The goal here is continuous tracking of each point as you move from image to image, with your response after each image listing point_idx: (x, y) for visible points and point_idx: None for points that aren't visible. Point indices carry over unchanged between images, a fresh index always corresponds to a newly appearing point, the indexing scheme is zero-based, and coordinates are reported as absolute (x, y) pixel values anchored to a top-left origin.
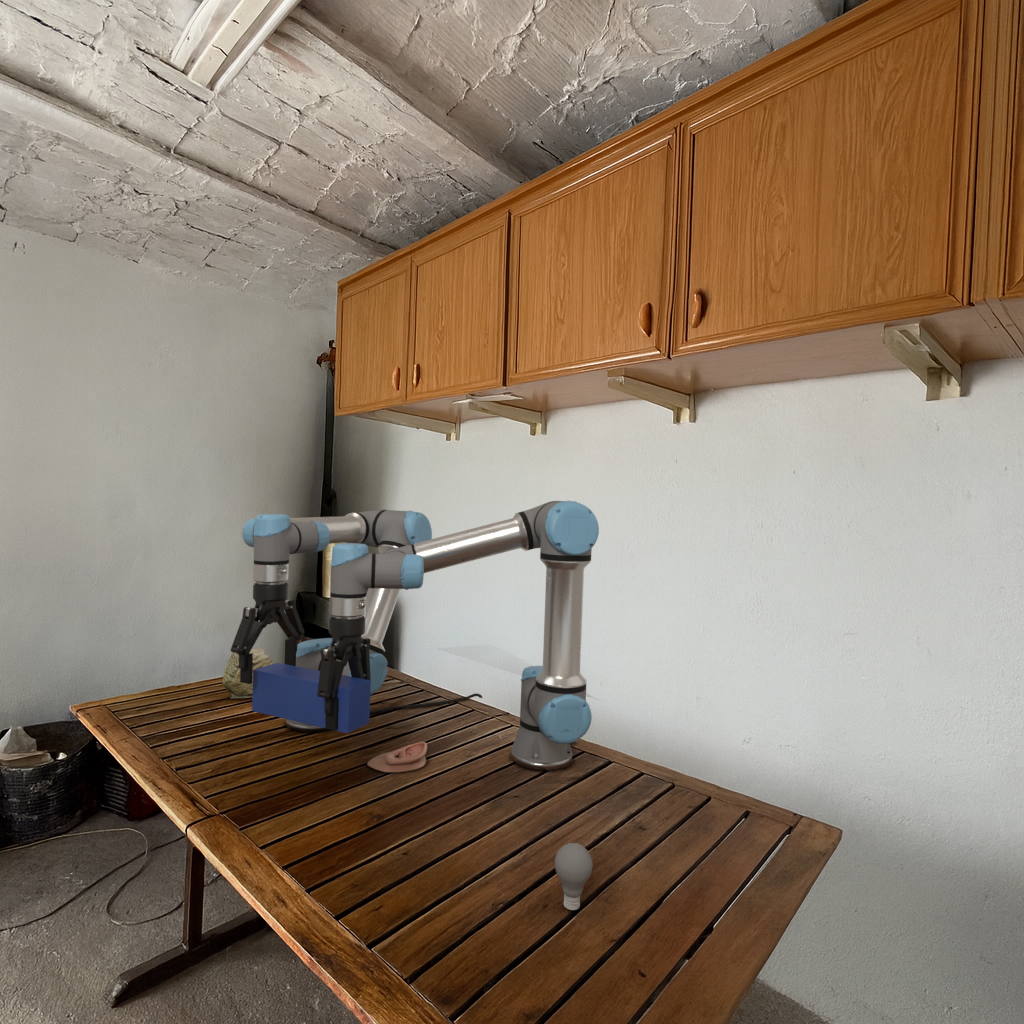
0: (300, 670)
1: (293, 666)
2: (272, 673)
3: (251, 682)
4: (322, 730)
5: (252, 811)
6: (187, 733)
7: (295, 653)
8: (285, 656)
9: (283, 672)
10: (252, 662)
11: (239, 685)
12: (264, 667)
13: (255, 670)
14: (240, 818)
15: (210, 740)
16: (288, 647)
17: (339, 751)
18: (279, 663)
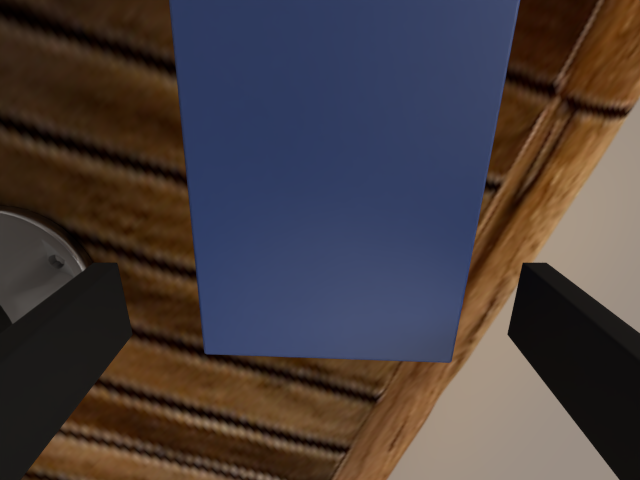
0: (273, 2)
1: (206, 173)
2: (486, 171)
3: (534, 264)
4: (49, 220)
5: (525, 25)
6: (258, 450)
7: (19, 325)
8: (89, 382)
9: (416, 106)
10: (637, 355)
11: None
12: (362, 342)
13: (454, 343)
14: (566, 24)
15: (259, 393)
16: (21, 426)
17: (115, 78)
18: (211, 328)
